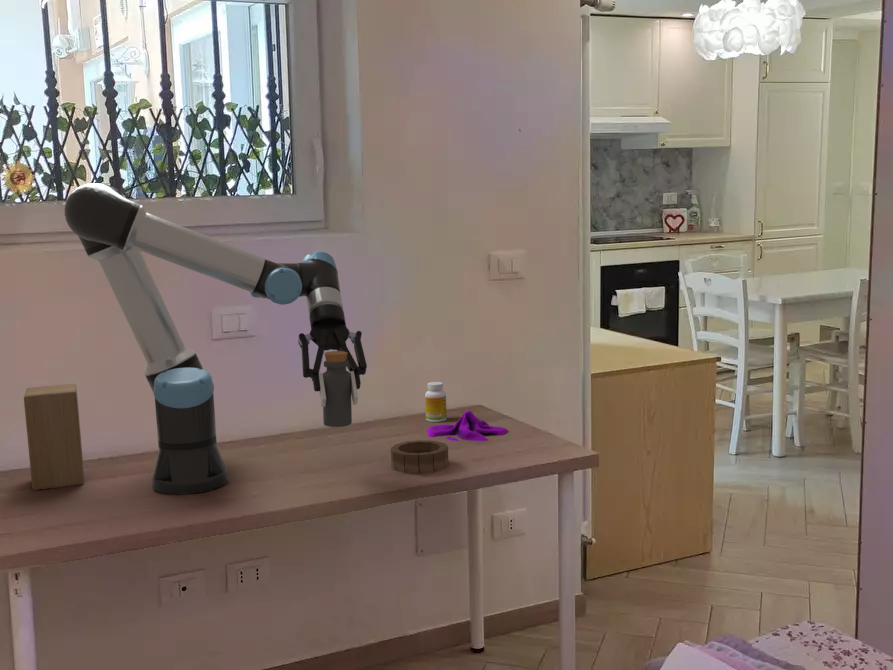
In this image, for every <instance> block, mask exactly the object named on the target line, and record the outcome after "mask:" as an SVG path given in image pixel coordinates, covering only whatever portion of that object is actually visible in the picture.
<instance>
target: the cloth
mask: <svg viewBox="0 0 893 670" xmlns="http://www.w3.org/2000/svg"><path fill="white" fill-rule="evenodd" d="M489 425H490V424H489V423H487V422H486V421H484V420H482V419H478V417H477V416H476V415H474V413H473V412H472V411H471V410H468V409H467V410H466V411H464V412H463V413H462V415H461V417H459V419H458V420H457V421H456V422H455V424H454V425H453V424H437V425H433V426H432V425H431V426H428V428H427V436H428V437H429V438H436V437H445V436H446V439H445V440H448V441H452V442H459V440H458V439H460V438H461V439H460V440H464V441H472V442H475V441H476V442H486V441H489V439H488V438H487V437H486V435H487V436H503V435H505V434H507V432H508V431H509V430H508V429H507V428H505V427H503V426H492V425H490V426H489ZM504 433H505V434H504ZM448 435H450V436H448ZM457 435H458V436H457ZM453 436H457V437H458V438H455V437H453Z"/></svg>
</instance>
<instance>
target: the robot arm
mask: <svg viewBox="0 0 893 670" xmlns="http://www.w3.org/2000/svg"><path fill="white" fill-rule="evenodd" d="M64 217H65V221H66V223H67V226H68V227H69V228H70V230H71V231H72V232H73V233H74V234H75V235H76V236H78V239H79V241H80V243H81V244H82V245H81V246H82V247H83V248H84V251H85V252H86V255H87V257H88V258H90V259H93V260H95V261H97V262H99V264H100V267H101V269H102V271H103V274H104V275H105V277H106V280H107V282H108V284H109V286H110V287H111V290H112V292H113V295H114V297H115V298H116V300H117V302H118V305H119V306H120V309H121V311H122V313H123V315H124V317H125V320H126V321H127V324H128V326H129V327H130V330H131V332H132V334H133V335H134V338H135V340H136V342H137V344H138V347H139V349H140V350H141V352H142V355H143V357H144V359H145V361H146V363H147V364H146V365H147V366H146V368H145V370H144V376H145V378H146V380H147V383H148V384H149V387H150V388H151V390H152V393H153V396H154V404H155V405H154V406H155V416H156V417H155V419H156V432H157V433H156V434H157V443H158V452H157V457H156V460H155V463H154V468H153V472H152V475H151V482H152V489H153V490H154V491H155V492H157V491H158V492H157V493H160V492H162V493H161V494H166V493H170V494H169V495H183V494H182V493H190V494H195V493H194V492H198V493H201V491H203V492H207V491H206V490H208V491H210V489H212V490H214V488H215V489H218V488H220V487H222V486H224V485H225V484H226V483H228V481H229V480H228V479H229V477H228V469H227V466H226V463H225V461H224V459H223V457H222V454H221V452H220V449H219V446H218V444H217V443H218V442H217V429H216V413H215V412H216V411H215V397H214V395H215V394H214V391H215V386H214V382H213V376H212V374H211V373H210V372H208V371H207V370H205V369H204V368H203V365H202V363H201V361H200V360H199V359H200V358H199V357H198V355H197V353H196V351H195V350H192V349H190V348H187V347H186V346H185V344H184V342H183V340H182V337H181V335H180V333H179V331H178V329H177V327H176V324H175V323H174V321H173V318H172V316H171V314H170V312H169V309H168V307H167V305H166V303H165V301H164V299H163V297H162V294H161V292H160V290H159V288H158V285H157V284H156V282H155V279H154V277H153V275H152V273H151V271H150V268H149V266H148V265H147V263H146V261H145V258H144V256H143V253H145V254H147V255H151V256H153V257H156V258H158V259H160V260H161V259H162V260H164V261H167V262H170V263H173V264H175V265H178V266H180V267H183V268H186V269H188V270H191V271H193V272H196V273H199V274H201V275H204V276H207V277H210V278H213V279H215V280H218V281H220V282H222V283H226V284H228V285H230V286H233V287H237V288H238V289H241V290H244V291H246V292H250V295H251V296H252V297H253V298H254V299H255V298H262V299H267V300H270V301H271V302H272V303H275V304H278V305H290V304H292V303H294V302H295V301H297V299H298V298H299V297H306V301H307V308H308V315H309V317H308V318H309V324H310V325H309V326H310V331H309V333H307V334H304V333H302V332H301V333H299V334H298V341H297V342H298V343H297V344H298V345H299V347H300V349H301V361H302V362H301V363H302V364H301V365H302V366H301V367H302V376H303V378H305V379H308V378H311V381H312V385H313V391H314V392H318V393H319V397H320V398H319V399H320V404H321V406H320V407H322V408H323V407H325V404H326V394H325V387H324V380H323V373H324V372H321V371H320V369H321V366H322V362H323V357H324V355H325V354H324V353H325V351H330V350H333V351H344V352H347V358H346V360H347V361H349V366H347V367H346V369H348V370H347V371H348V372H349V373H350V374H351V402H352V405H353V406H355V405H358V399H359V395H358V390H360V388H361V385H362V384H361V383H362V382H361V378H360V376H361V375H362V376H364V375H366V372H367V368H368V367H367V364H368V363H367V361H366V357H365V354H364V353H365V351H364V349H363V344H362V341H361V339H362V333H363V332H362V331H361V330H357V331H356V332H353V331H350V330H349V328H348V327H347V323H346V318H345V312H344V305H343V300H342V293H341V289H340V281H339V271H338V269H337V265H336V261H335V259H334V257H333V256H332V255H331V254H330V253H328V252H326V251H320V250H319V251H314V252H312V253H308V254H307V255H305V257H304V258H303V259H302V262H297V263H296V262H294V263H293V262H291V263H289V262H287V263H283V262H281V263H280V262H278V263H277V262H274V261H271V260H269V259H265V258H263V257H261V256H258V255H256V254H253V253H251V252H249V251H245V250H243V249H241V248H238V247H236V246H233V245H230V244H228V243H225V242H224V241H223V242H222V241H220V240H217V239H215V238H213V237H210V236H208V235H206V234H202V233H201V232H197V231H195V230H192V229H189V228H187V227H184V226H182V225H180V224H177V223H174V222H171V221H169V220H167V219H164V218H161V217H159V216H157V215H154V214H151V213H149V212H147V211H146V209H145V208H144V206H143V205H142V204H140V203H137V202H134V201H132V200H131V199H128V198H126V197H125V196H124V195H123V193H122V192H121V191H120V190H118V188H115V187H114V186H112V185H109V184H105V183H97V182H95V183H94V182H91V183H85V184H83V185H80V186H78V187H76V188H75V189H74V190H73V191H71V193H70V194H69V195H68V197H67V199H66V200H65V205H64ZM348 339H350V342H351V343H352V344H353V349H354V353H355V357H356V358H355V359H356V360H355V359H354V357H353V355H352V353H351V351H350V350H349V348H348V346H347V340H348ZM310 341H312V342H313V343H314V344H315V345H316V346H317V351H316V355H315V359H314V365H313V368H311V367H310V356H309V355H310V354H309V352H310V351H309V345H310ZM356 362H357V363H356ZM217 487H218V488H217ZM171 493H172V494H171ZM173 493H174V494H173Z"/></svg>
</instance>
